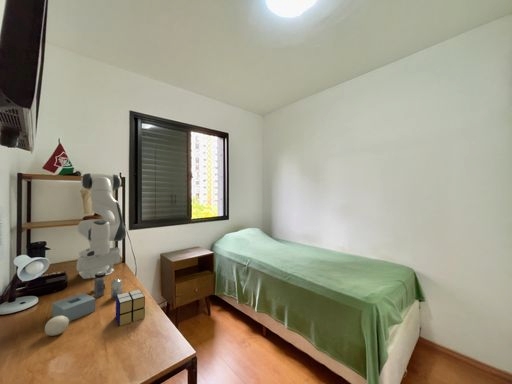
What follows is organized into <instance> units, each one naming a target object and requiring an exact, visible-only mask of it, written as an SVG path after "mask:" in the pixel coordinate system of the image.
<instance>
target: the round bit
mask: <svg viewBox="0 0 512 384" xmlns="http://www.w3.org/2000/svg"><path fill="white" fill-rule="evenodd" d="M122 292H123V279H122V278H116V279H113V280H111V295H110V296H111V300H116V296H117V295H119V294H123V293H122Z"/></svg>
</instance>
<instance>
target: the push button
mask: <svg viewBox="0 0 512 384" xmlns="http://www.w3.org/2000/svg"><path fill="white" fill-rule="evenodd" d="M105 274H106V273H104V271H101V272H97V274H95V278H94V279H99V278H102V279H104V280H105V277H106V276H105ZM105 289H106V283H104V290H105ZM91 290H92V291H94V287H91Z"/></svg>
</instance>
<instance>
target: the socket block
mask: <svg viewBox="0 0 512 384" xmlns="http://www.w3.org/2000/svg"><path fill="white" fill-rule="evenodd" d="M94 312H96V297H93V296H91V295H89V294H87V293H85V292H82V293H78V294H76V295H73V296H70V297H67V298H63V299H60V300H57V301H55V302H52V304H51V317H52V318H53V317H56V316H65V317H67V318H68V319H69V322H71V321H74V320H76V319H79V318H81V317H84V316H86V315H88V314H91V313H94Z"/></svg>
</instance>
